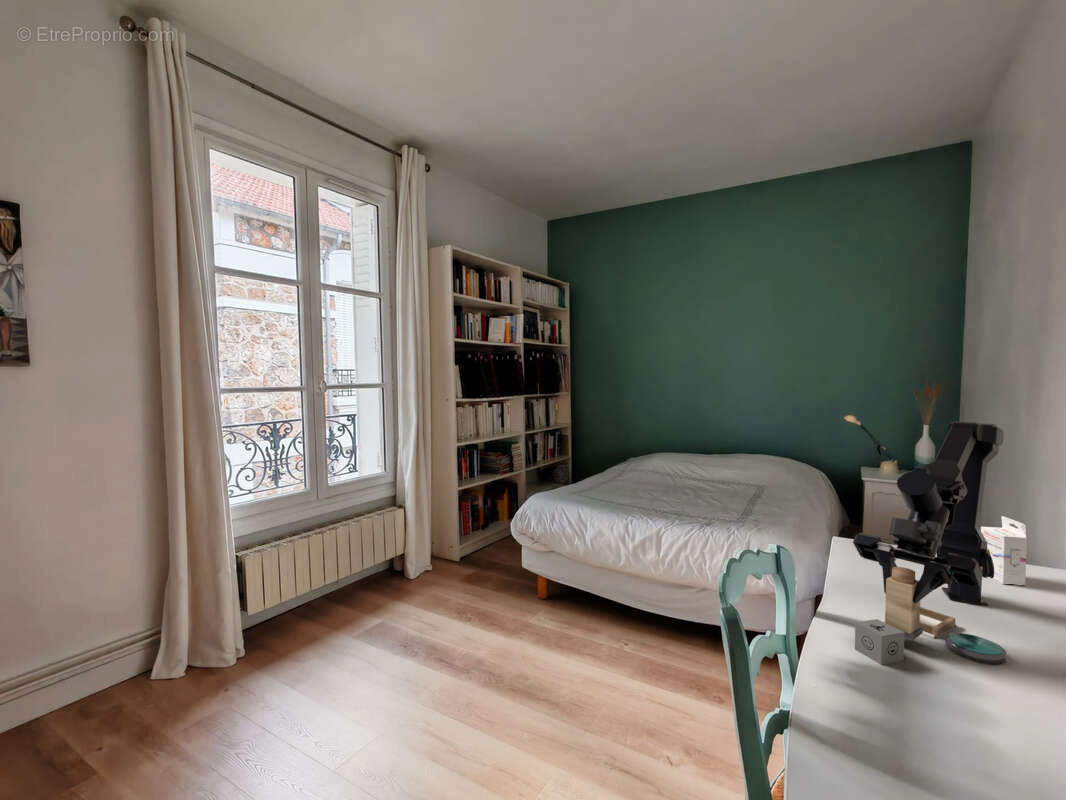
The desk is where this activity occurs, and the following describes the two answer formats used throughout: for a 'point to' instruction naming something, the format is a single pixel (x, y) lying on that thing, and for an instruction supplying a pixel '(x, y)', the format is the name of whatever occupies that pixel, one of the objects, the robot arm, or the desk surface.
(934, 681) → the desk surface
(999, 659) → the pad
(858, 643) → the dice cube
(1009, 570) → the ink cartridge box
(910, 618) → the stamp
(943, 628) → the frame
